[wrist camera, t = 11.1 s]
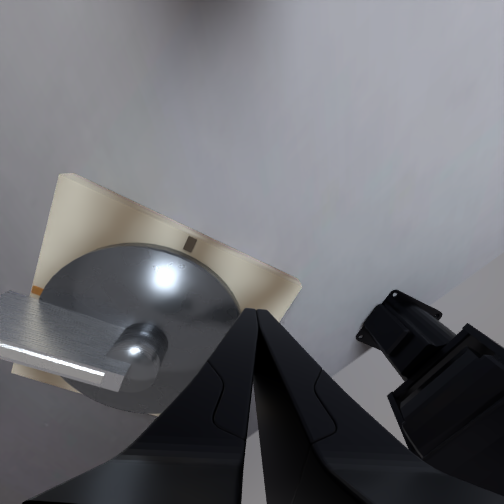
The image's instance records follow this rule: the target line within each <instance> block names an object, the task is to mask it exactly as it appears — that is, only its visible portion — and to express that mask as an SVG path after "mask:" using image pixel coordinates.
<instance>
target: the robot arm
mask: <svg viewBox="0 0 504 504" xmlns="http://www.w3.org/2000/svg"><path fill="white" fill-rule="evenodd" d="M395 292H396V293H397V295H396V296H395V297H393V293H395ZM441 317H442V313H441V312H440V311H438V310H437V309H435V308H433V307H431V306H428V305H426V304H424V303H422V302H420V301H418V300H416V299H414V298H412V297H410V296H408V295H406V294H405V293H403V292H401V291H399V290H393V291H391V292H390V294H389V295H388V296H387V297H386V299H385V300H384V301H383V302H382V304H379V305H378V306H377V307H376V308H375V310H374V311H373V312H372V313H371V315H370V316H369V317H368V318H367V320H366V321H365V322H364V326H363V327H362V329H361V330H360V331H359V332H358V334H357V335H356V339H357V340H358V341H361V342H363V343H365V344H367V345H370V346H372V347H374V348H377V349H379V350H381V351H382V352H383V354H384V355H385V356H386V358H387V359H388V360H389V362H390V363H391V364H392V365H393V367H394V368H395V369H396V371H397V372H398V373H399V375H400V376H401V377H402V379H403V380H404V381H405V382H404V383H403V384H402V385H401V386H399V387H398V388H397V389H396V390H395V391H394V392H391V393H390V394H389V395H388V396H387V397H388V400H389V402H390V404H391V407H392V410H393V412H394V415H395V417H396V419H397V422H398V424H399V427H400V429H401V432H402V434H403V437H404V439H405V441H406V444H407V446H408V449H407V448H406V447H405V446H404V445H403V444H402V443H401V442H400V441H398V440H397V439H396V438H395V437H394V436H393V435H392V434H391V433H390V432H388V431H387V430H386V429H385V428H384V427H383V426H382V425H381V424H379V423H378V422H377V421H376V420H375V419H374V418H373V417H372V416H371V415H369V414H368V413H367V412H366V411H365V410H364V409H363V408H362V407H361V406H360V405H359V404H357V403H356V402H355V401H354V400H353V399H352V398H351V397H350V396H349V395H348V394H347V393H346V392H345V391H344V390H343V389H342V388H341V387H340V386H339V385H338V384H337V383H336V382H335V381H333V379H332V378H331V377H330V376H329V375H328V374H327V373H326V372H325V371H324V370H322V368H321V367H320V365H319V364H318V363H317V362H316V361H315V360H314V359H313V358H312V357H311V356H310V355H309V354H308V353H307V352H306V351H305V350H304V348H303V347H302V346H301V345H300V344H299V343H298V342H297V341H296V340H295V339H294V338H293V337H292V336H291V335H290V334H289V332H288V331H287V330H286V329H285V328H284V327H283V326H282V325H281V324H280V323H279V322H278V321H277V320H276V319H275V318H274V317H273V315H272V314H271V313H270V312H269V311H268V310H266V309H254V308H244V310H243V311H242V312H241V314H240V315H239V316H238V318H237V319H236V321H235V322H234V323H233V325H232V326H231V328H230V329H229V330H228V332H227V333H226V334H225V336H224V337H223V339H222V340H221V341H220V343H219V344H218V345H217V347H216V348H215V350H214V351H213V352H212V354H211V355H210V357H209V358H208V359H207V361H206V362H205V363H204V365H203V366H202V367H201V369H200V370H199V371H198V373H197V374H196V375H195V377H194V378H193V379H192V380H191V382H190V383H189V384H188V385H187V386H186V387H185V388H184V390H183V391H182V392H181V393H180V394H179V395H178V396H177V397H176V398H175V399H174V400H173V401H172V403H171V404H170V405H169V406H168V407H167V408H166V409H165V410H164V411H163V412H162V413H161V414H160V415H159V416H158V417H157V418H156V419H155V420H154V421H153V423H152V424H151V425H150V426H149V427H148V428H147V429H146V430H145V431H144V432H143V433H142V434H141V435H140V436H139V437H138V438H137V439H136V440H135V441H134V442H133V443H132V444H131V445H130V446H129V447H128V448H126V449H125V450H124V451H123V452H121V453H120V454H119V455H117V456H116V457H114V458H113V459H111V460H110V461H108V462H106V463H104V464H102V465H99V466H97V467H95V468H93V469H91V470H89V471H87V472H85V473H83V474H81V475H79V476H76V477H74V478H72V479H70V480H68V481H66V482H64V483H62V484H60V485H58V486H55V487H53V488H51V489H49V490H47V491H45V492H43V493H41V494H39V495H37V496H34V497H32V498H30V499H28V500H26V501H24V502H23V503H22V504H241V499H242V482H243V468H244V457H245V447H246V439H247V430H248V421H249V412H250V403H251V394H252V385H253V384H254V393H255V402H256V411H257V420H258V429H259V438H260V447H261V456H262V465H263V474H264V483H265V492H266V501H267V504H504V348H503V347H502V346H501V345H499V344H498V343H496V342H495V341H493V340H492V339H490V338H489V337H487V336H486V335H484V334H483V333H481V332H480V331H478V330H477V329H476V328H474V327H473V326H471V325H470V324H468V323H467V324H466V325H465V326H464V327H463V330H462V331H461V332H459V333H458V334H457V335H456V334H455V333H453V332H452V331H451V330H449V329H448V328H447V327H446V326H444V325H443V324H442V323H440V322H439V319H440V318H441ZM360 335H363V337H362V338H359V336H360Z"/></svg>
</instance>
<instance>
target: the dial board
mask: <svg viewBox="0 0 504 504" xmlns="http://www.w3.org/2000/svg"><path fill="white" fill-rule="evenodd" d="M120 243H149V244H156V245H161V246H165V247H169V248H172V249H175V250H178V251H181V252H183V253H185V254H187V255H190V256H192V257H194V258H196V259H197V260H199V261H200V262H202V263H203V264H205V265H207V266H208V267H209V268H210V269H212V270H213V271H214V272H215V273H216V274H218V275H219V277H220V278H221V279H222V280H223V281H224V282H225V283H226V284H227V285H228V287H229V288H230V290H231V291H232V292H233V294H234V296H235V298H236V300H237V301H238V303H239V306H240V309H241V312H242V311H243V310H244V308H254V309H266V310H268V311H269V312H270V313H271V314H272V315H273V317H274V318H275V319H276V320H277V321H278V322H280V320H281V319H282V317H283V316H284V314H285V313H286V311H287V310H288V308H289V307H290V305H291V304H292V302H293V301H294V299H295V297H296V296H297V294H298V293H299V291H300V290H301V288H302V285H301V283H300V281H299V279H297V278H295V277H293V276H291V275H289V274H286V273H284V272H282V271H280V270H278V269H276V268H274V267H272V266H269V265H267V264H265V263H263V262H261V261H259V260H257V259H255V258H253V257H250V256H248V255H246V254H244V253H242V252H240V251H238V250H236V249H233V248H231V247H229V246H227V245H225V244H223V243H221V242H219V241H216V240H214V239H212V238H210V237H208V236H206V235H204V234H202V233H199V232H197V231H195V230H193V229H191V228H189V227H187V226H185V225H182V224H180V223H178V222H176V221H174V220H172V219H170V218H168V217H165V216H163V215H161V214H159V213H157V212H155V211H153V210H151V209H149V208H146V207H144V206H142V205H140V204H138V203H136V202H134V201H132V200H129V199H127V198H125V197H123V196H121V195H119V194H117V193H115V192H112V191H110V190H108V189H106V188H104V187H102V186H100V185H98V184H95V183H93V182H91V181H89V180H87V179H85V178H83V177H81V176H78V175H76V174H74V173H69V174H59V177H58V181H57V185H56V190H55V194H54V198H53V202H52V206H51V210H50V214H49V219H48V223H47V227H46V231H45V235H44V239H43V244H42V248H41V252H40V256H39V260H38V264H37V268H36V273H35V277H34V281H33V285H32V289H31V293H30V297H32V298H35V299H38V300H39V298H40V295H41V293H42V291H43V289H44V287H45V286H46V284H47V283H48V282H49V281H50V279H51V278H52V277H53V276H54V275H55V274H56V273H57V272H58V271H59V270H60V269H61V268H63V267H64V266H66V265H67V264H69V263H70V262H72V261H73V260H75V259H77V258H79V257H80V256H82V255H84V254H86V253H88V252H91V251H93V250H95V249H98V248H101V247H105V246H108V245H113V244H120ZM11 373H14V374H17V375H20V376H24V377H27V378H31V379H34V380H37V381H41V382H44V383H47V384H51V385H54V386H57V387H61V388H64V389H67V390H71V391H74V392H77V393H80V392H79V391H77V390H76V389H74V388H73V387H72V386H71V385H69V384H68V383H67V382H66V381H65V380H64V379H63V378H62V377H61V376H59V375H55V374H52V373H48V372H45V371H41V370H38V369H34V368H31V367H27V366H23V365H20V364H16V363H14V364H13V368H12V372H11ZM81 394H82V393H81ZM160 414H161V413H159V414H151V415H154V416H159V415H160Z"/></svg>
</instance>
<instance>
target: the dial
mask: <svg viewBox="0 0 504 504" xmlns="http://www.w3.org/2000/svg"><path fill="white" fill-rule="evenodd" d="M240 314H241V309H240V306H239V303H238V301H237V300H236V298H235V296H234V294H233V292H232V291H231V290H230V288H229V287H228V285H227V284H226V283H225V282H224V281H223V280H222V279H221V278H220V277H219V275H218V274H216V273H215V272H214V271H213V270H212V269H210V268H209V267H208V266H207V265H205V264H203V263H202V262H200V261H199V260H197V259H196V258H194V257H192V256H190V255H187V254H185V253H183V252H181V251H178V250H175V249H172V248H169V247H165V246H161V245H156V244H149V243H120V244H113V245H108V246H105V247H101V248H98V249H95V250H93V251H91V252H88V253H86V254H84V255H82V256H80V257H79V258H77V259H75V260H73V261H72V262H70V263H69V264H67V265H66V266H64V267H63V268H61V269H60V270H59V271H58V272H57V273H56V274H55V275H54V276H53V277H52V278H51V279H50V281H49V282H48V283H47V284H46V286H45V287H44V289H43V291H42V293H41V295H40V298H39V300H38V299H35V298H32V297H29V296H26V295H23V294H20V293H17V292H14V291H11V290H9V291H7V292H5V293H3V294H1V295H0V359H2V360H6V361H9V362H13V363H16V364H20V365H23V366H27V367H31V368H34V369H38V370H41V371H45V372H48V373H52V374H55V375H59V376H61V377H62V378H63V379H64V380H65V381H66V382H67V383H68V384H69V385H71V386H72V387H73V388H74V389H76V390H77V391H79V392H80V393H82V394H83V395H85V396H87V397H89V398H91V399H93V400H95V401H97V402H99V403H102V404H104V405H107V406H110V407H113V408H116V409H120V410H124V411H129V412H136V413H147V414H159V413H162V412H163V411H164V410H165V409H166V408H167V407H168V406H169V405H170V404H171V403H172V401H173V400H174V399H175V398H176V397H177V396H178V395H179V394H180V393H181V392H182V391H183V390H184V388H185V387H186V386H187V385H188V384H189V383H190V382H191V380H192V379H193V378H194V377H195V375H196V374H197V373H198V371H199V370H200V369H201V367H202V366H203V365H204V363H205V362H206V361H207V359H208V358H209V357H210V355H211V354H212V352H213V351H214V350H215V348H216V347H217V345H218V344H219V343H220V341H221V340H222V339H223V337H224V336H225V334H226V333H227V332H228V330H229V329H230V328H231V326H232V325H233V323H234V322H235V321H236V319H237V318H238V316H239V315H240Z"/></svg>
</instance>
